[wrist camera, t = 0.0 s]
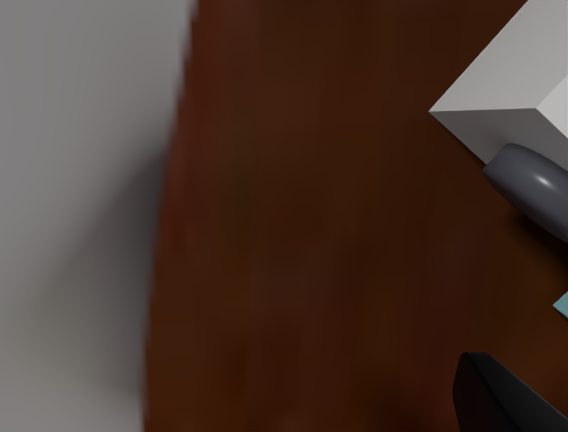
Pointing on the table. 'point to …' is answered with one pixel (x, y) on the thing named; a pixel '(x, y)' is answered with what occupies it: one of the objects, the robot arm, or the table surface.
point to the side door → (562, 305)
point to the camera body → (519, 112)
